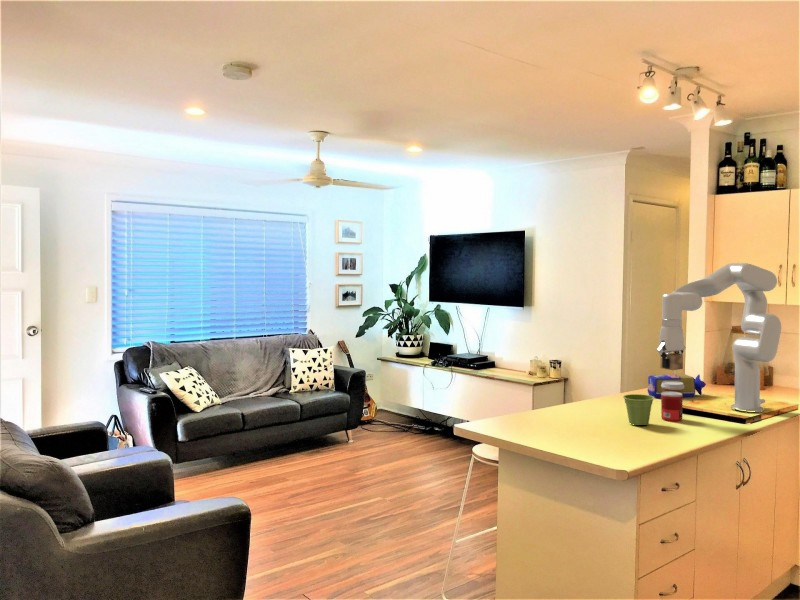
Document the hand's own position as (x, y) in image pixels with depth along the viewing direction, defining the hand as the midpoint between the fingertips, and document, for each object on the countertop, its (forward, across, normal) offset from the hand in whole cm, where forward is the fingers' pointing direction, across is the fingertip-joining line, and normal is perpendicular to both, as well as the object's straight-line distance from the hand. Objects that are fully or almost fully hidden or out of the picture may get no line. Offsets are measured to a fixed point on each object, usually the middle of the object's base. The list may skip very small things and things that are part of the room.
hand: (671, 366), depth 259 cm
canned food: (+22, 0, 0) cm, 22 cm away
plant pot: (+22, +17, -2) cm, 28 cm away
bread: (+22, -38, -29) cm, 53 cm away
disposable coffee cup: (+22, -14, -11) cm, 29 cm away
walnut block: (+1, 0, 0) cm, 1 cm away
